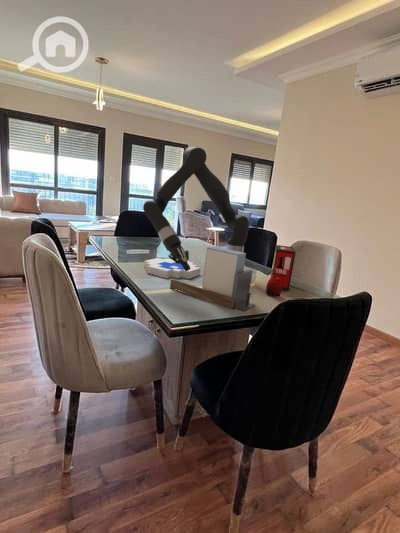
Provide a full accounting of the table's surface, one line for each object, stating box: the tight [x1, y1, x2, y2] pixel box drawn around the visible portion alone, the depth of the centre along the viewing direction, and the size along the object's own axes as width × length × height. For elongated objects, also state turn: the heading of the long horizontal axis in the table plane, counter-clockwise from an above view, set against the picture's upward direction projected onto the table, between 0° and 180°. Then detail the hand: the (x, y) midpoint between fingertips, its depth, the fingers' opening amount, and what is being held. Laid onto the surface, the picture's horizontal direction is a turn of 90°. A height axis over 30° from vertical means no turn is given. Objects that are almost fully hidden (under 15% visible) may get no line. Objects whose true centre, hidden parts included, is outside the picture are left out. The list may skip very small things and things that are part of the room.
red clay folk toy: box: [265, 266, 282, 298], centre depth 146 cm, size 8×7×15 cm
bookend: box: [229, 269, 256, 313], centre depth 126 cm, size 13×6×14 cm, turn 146°
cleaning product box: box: [269, 244, 297, 292], centre depth 163 cm, size 16×9×20 cm, turn 168°
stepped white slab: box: [143, 257, 201, 280], centre depth 170 cm, size 28×4×28 cm
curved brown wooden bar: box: [169, 278, 252, 310], centre depth 137 cm, size 12×33×4 cm, turn 56°
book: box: [201, 245, 247, 297], centre depth 131 cm, size 6×15×21 cm, turn 55°
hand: (188, 269), depth 142 cm, fingers closed
